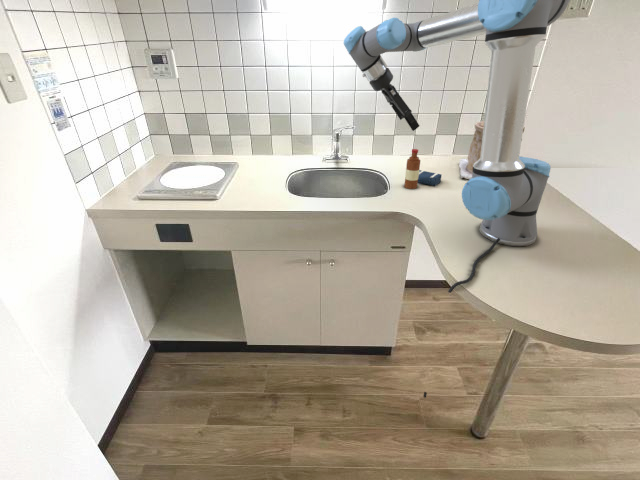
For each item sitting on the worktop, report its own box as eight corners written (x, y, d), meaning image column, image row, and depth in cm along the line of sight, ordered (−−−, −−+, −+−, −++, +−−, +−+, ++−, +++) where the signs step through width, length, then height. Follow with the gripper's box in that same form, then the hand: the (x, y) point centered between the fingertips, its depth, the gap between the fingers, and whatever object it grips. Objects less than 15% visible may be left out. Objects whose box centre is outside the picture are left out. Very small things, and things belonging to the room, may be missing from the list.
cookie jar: (459, 180, 146) (475, 98, 130) (458, 162, 166) (471, 90, 151) (524, 185, 139) (549, 100, 124) (515, 167, 160) (535, 92, 144)
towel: (433, 187, 139) (434, 179, 138) (410, 182, 145) (411, 174, 143) (440, 181, 145) (441, 174, 143) (417, 177, 150) (418, 169, 148)
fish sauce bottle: (413, 190, 137) (418, 152, 130) (401, 187, 140) (406, 150, 132) (419, 186, 141) (424, 149, 133) (407, 183, 143) (411, 147, 136)
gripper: (360, 75, 127) (390, 119, 138) (378, 90, 107) (412, 140, 118) (377, 60, 125) (406, 106, 136) (399, 73, 105) (431, 126, 116)
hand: (409, 122), depth 127 cm, fingers open, 13 cm apart
